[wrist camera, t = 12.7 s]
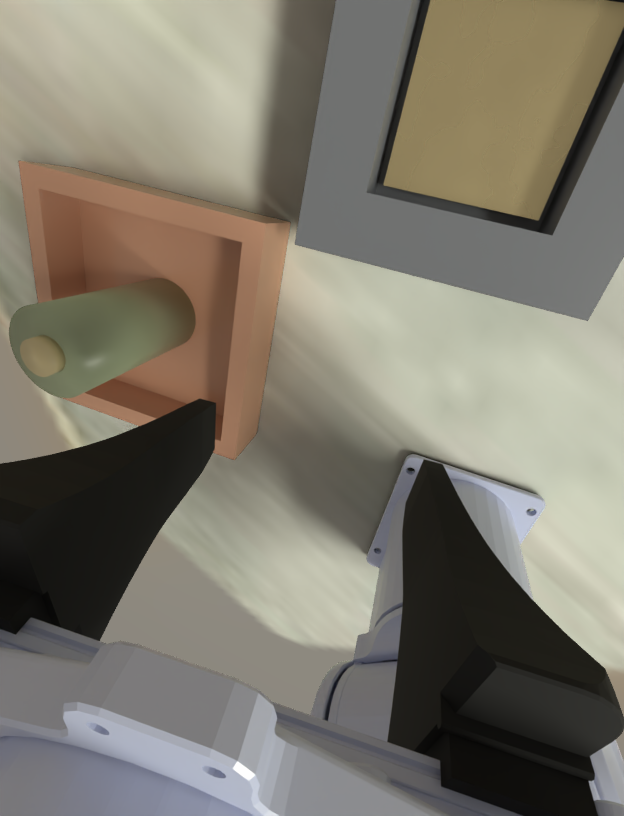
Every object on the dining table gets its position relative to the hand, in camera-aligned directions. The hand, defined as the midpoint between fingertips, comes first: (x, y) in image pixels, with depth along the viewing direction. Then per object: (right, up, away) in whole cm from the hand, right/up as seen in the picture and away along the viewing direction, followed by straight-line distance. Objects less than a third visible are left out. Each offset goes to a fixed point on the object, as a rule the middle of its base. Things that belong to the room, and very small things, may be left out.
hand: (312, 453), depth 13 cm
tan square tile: (+7, +13, +1) cm, 14 cm away
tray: (-8, +7, +11) cm, 15 cm away
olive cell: (-9, +7, +10) cm, 15 cm away
